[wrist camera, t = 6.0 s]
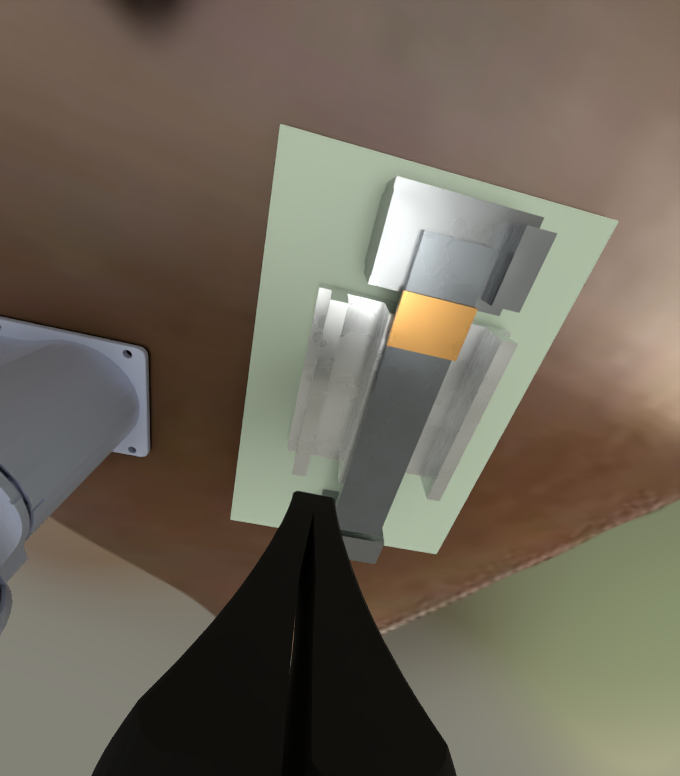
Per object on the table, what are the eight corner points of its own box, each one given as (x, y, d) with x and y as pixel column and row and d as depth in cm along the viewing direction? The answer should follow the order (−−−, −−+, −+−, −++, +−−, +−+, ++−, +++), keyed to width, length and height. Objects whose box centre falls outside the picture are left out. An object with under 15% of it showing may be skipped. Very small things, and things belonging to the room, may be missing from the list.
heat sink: (288, 440, 22) (281, 472, 19) (320, 283, 17) (316, 295, 15) (436, 469, 23) (449, 503, 20) (502, 327, 18) (530, 347, 16)
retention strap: (328, 519, 21) (328, 530, 20) (419, 228, 13) (423, 229, 13) (379, 528, 21) (380, 539, 20) (494, 248, 14) (502, 250, 13)
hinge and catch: (302, 506, 24) (295, 559, 21) (385, 181, 15) (399, 171, 12) (385, 521, 25) (393, 575, 21) (512, 217, 16) (564, 218, 12)
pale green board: (234, 509, 26) (230, 519, 25) (283, 128, 15) (280, 123, 14) (433, 543, 28) (436, 554, 27) (604, 220, 17) (618, 221, 16)
